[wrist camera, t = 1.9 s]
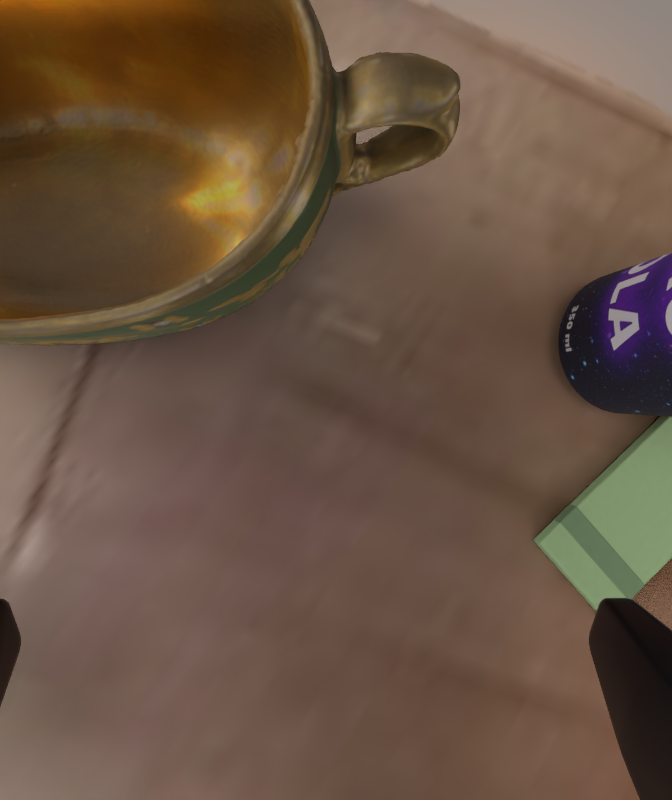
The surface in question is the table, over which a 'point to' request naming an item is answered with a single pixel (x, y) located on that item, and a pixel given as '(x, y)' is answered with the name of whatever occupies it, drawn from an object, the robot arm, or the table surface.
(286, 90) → the cup
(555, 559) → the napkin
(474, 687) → the table surface
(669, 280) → the beverage can
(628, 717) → the robot arm
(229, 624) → the table surface
